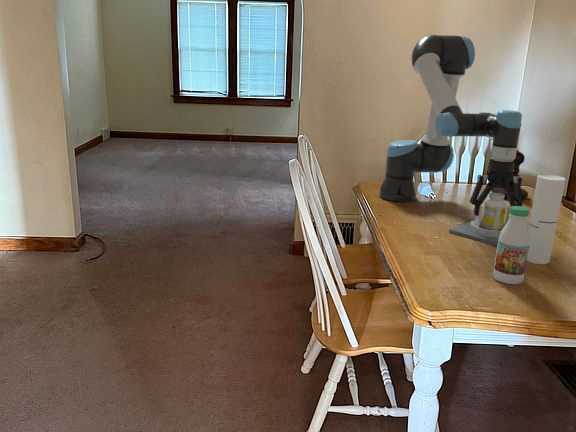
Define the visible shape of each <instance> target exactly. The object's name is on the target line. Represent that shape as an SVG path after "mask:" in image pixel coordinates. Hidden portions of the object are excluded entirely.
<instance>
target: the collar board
mask: <svg viewBox="0 0 576 432" xmlns="http://www.w3.org/2000/svg"><path fill="white" fill-rule="evenodd" d="M475 221H476V218H475V219H474V220H471V221H468V222H465V223H463V224H460V225H457V226H455V227H452V228H449V229H448V233H451V234H454V235H458V236H460V237H465V238H468V239H471V240H475V241H478V242H482V243H486V244H489V245H492V246H495V247H497V246H498V240H499V236H500V233H501V231H494V230H487V229H484V228H482V222H483V218H481V222H480V226H477V225H476V224H475ZM504 227H505V221H504V224H503V228H504Z"/></svg>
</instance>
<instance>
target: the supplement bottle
mask: <svg viewBox="0 0 576 432" xmlns="http://www.w3.org/2000/svg"><path fill="white" fill-rule="evenodd" d="M488 197H489V199H488V200H485V203H484V209H483V216H482V217H483V218H482V219H483V222H482V228H484V229H487V230H494V231H502V229H503V224H504V222H505V219H506V212H507V203H506V202H505V201H504V200H505V195H504V194H502V193H492V192H490V193H489V194H488Z"/></svg>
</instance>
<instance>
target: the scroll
mask: <svg viewBox="0 0 576 432" xmlns="http://www.w3.org/2000/svg"><path fill="white" fill-rule="evenodd" d="M513 161H514V162H515V164H514V170H513V176H519V177H521V176H520V175H519V173H520V166H521V165H522V164H524V162H525V155H524V153H523V152H521V151H519V150H518V149H517V151H516V158H515V159H514V160H513ZM509 186H510V188H511V192H512V195H513V198H515V187H514V182H513V180H512V181H511V182H510V183H509ZM490 193H502V194H504V195H505V197H506V198H507V195H506V192H505V190H504V188H500V187H499V188H493V190H491V192H490ZM521 194H522V201H525V200H526V198H527V197H529V192H528V191H527V190H526V189H525V188H523V187H521ZM505 197H504V198H505Z"/></svg>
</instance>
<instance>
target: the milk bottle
mask: <svg viewBox="0 0 576 432" xmlns="http://www.w3.org/2000/svg"><path fill="white" fill-rule="evenodd" d="M509 212H510V213H509V215H510V217H509V220H508V222H507V224H506V225H505V227H504V228H503V229H502V231H501V233H500V236H499V240H498V246H496V252H495V259H494V264H493V271H492V277H493V278H494V280H496V281H498V282H500V283H502V284H507V285H519V284H522V283H523V282H524V280H525V279H524V278H525V274H526V269H527V263H528V261H527V258H528V252H529V246H530V234H529V230H528V227H529V226H528V224H527V223H528V222H527V220H528V218H529V215H530V209H529V208H528V207H525V206H512V207H510V211H509Z"/></svg>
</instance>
